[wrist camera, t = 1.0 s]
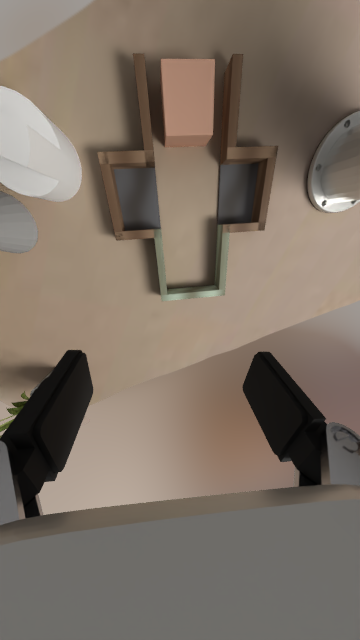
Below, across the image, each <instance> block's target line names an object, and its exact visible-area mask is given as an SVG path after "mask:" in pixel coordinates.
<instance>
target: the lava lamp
mask: <svg viewBox="0 0 360 640" xmlns="http://www.w3.org/2000/svg"><path fill="white" fill-rule="evenodd" d="M37 239H38V230H37V226H36V222H35V220H34V219H33V217H32V215H31V213H30V212H29V211H28V210H27V208H26V207H25V206H24V205H23V204H22V203H21V202H19V201H18V200H17V199H15V198H14V197H13V196H11V195H9V194H6V193H4V192H1V191H0V250H1V251H6V252H11V253H24V252H28V251H29V250H31V249H32V248H33V247H34V246H35V244H36V242H37Z"/></svg>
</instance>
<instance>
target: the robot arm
mask: <svg viewBox="0 0 360 640" xmlns="http://www.w3.org/2000/svg"><path fill="white" fill-rule="evenodd" d="M308 193H309V198H310V200H311V202H312V204H313V205H314V206H315V208H317V209H318V210H320V211H322V212H325V213H336V212H341V211H345V210H347V209H349V208H351V207H353V206H354V205H356V204H357V203H359V202H360V111H357V112H355V113H352V114H351V115H349V116H347V117H346V118H344V119H342V120H341V121H340V122H339V123H337V124H336V125H335V126H334V127H333V128H332V129H331V130H330V131H329V132H328V133H327V135H326V136H325V138H324V139H323V140H322V142H321V143H320V145H319V147H318V149H317V150H316V152H315V155H314V157H313V160H312V162H311V166H310V169H309V174H308ZM243 392H244V394H245V396H246V398H247V400H248V402H249V404H250V406H251V408H252V410H253V412H254V414H255V416H256V418H257V420H258V422H259V424H260V426H261V428H262V430H263V432H264V434H265V436H266V439H267V440H268V443H269V445H270V447H271V448H272V451H273V452H274V453H275V454H276V455H277V456H278V458H279V460H280V462H287V461H291V460H292V462H293V464H294V465H295V473H294V487H290V488H280V489H270V490H260V491H251V492H240V493H231V494H221V495H212V496H202V497H193V498H184V499H176V500H166V501H156V502H147V503H138V504H129V505H120V506H111V507H102V508H94V509H86V510H78V511H71V512H63V513H55V514H48V515H43V512H42V508H41V504H40V500H39V496H38V493H39V492H40V490H41V488H42V486H43V484H44V482H48V481H55V479H56V477H57V474H58V472H61V471H62V470H63V469H64V467H65V464H66V462H67V459H68V456H69V454H70V451H71V449H72V446H73V444H74V441H75V438H76V436H77V433H78V430H79V428H80V426H81V423H82V420H83V418H84V415H85V413H86V410H87V407H88V405H89V402H90V400H91V397H92V394H93V385H92V381H91V376H90V371H89V367H88V362H87V357H86V354H85V353H82V351H81V350H68V351H67V352H66V353H65V354H64V356H63V357H62V359H61V360H60V361H59V363H58V364H57V365H56V367H55V368H54V370H53V371H52V372H51V374H50V375H49V377H47V378H45V379H44V380H43V381H42V382H41V383H40V385H39V386H38V387H37V389H36V390H35V392H34V393H33V394H32V396H31V397H30V398H29V400H28V401H27V402H26V404H25V405H24V406H23V408H22V409H21V411H20V412H19V413H18V415H17V416H16V417H15V419H14V420H13V421H12V423H11V424H10V425H9V427H8V428H7V430H6V431H5V432H4V434H3V435H2V436H1V438H0V640H360V436H359V435H358V434H356V433H355V432H354V431H353V430H351V429H350V428H348V427H346V426H344V425H342V424H339V423H335V422H332V423H329V424H326V423H325V422H324V421H325V419H326V418H325V417H324V416H323V414H322V413H321V412H320V411H319V410H318V408H317V407H316V406H315V405H314V404H313V403H312V401H311V400H310V399H309V398H308V397H307V396H306V394H305V393H304V392H303V391H302V390H301V388H300V387H299V386H298V385H297V384H296V383H295V381H294V380H293V379H292V378H291V377H290V375H289V374H288V373H287V372H286V371H285V369H284V368H283V367H282V366H281V365H280V364H279V362H278V361H277V360H276V359H275V358H274V357H273V355H272V354H271V353H270V352H258V353H257V354H256V355H255V356H254V358H253V361H252V363H251V366H250V369H249V371H248V373H247V376H246V379H245V381H244V384H243Z"/></svg>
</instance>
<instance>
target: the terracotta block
mask: <svg viewBox="0 0 360 640" xmlns="http://www.w3.org/2000/svg"><path fill="white" fill-rule="evenodd" d="M214 78H215V59H161V74H160V86H161V100H162V114H163V128H164V142H165V147H189V146H206V145H207V143H208V142H209V140H210V138H211V137H212V135H213V114H214Z"/></svg>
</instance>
